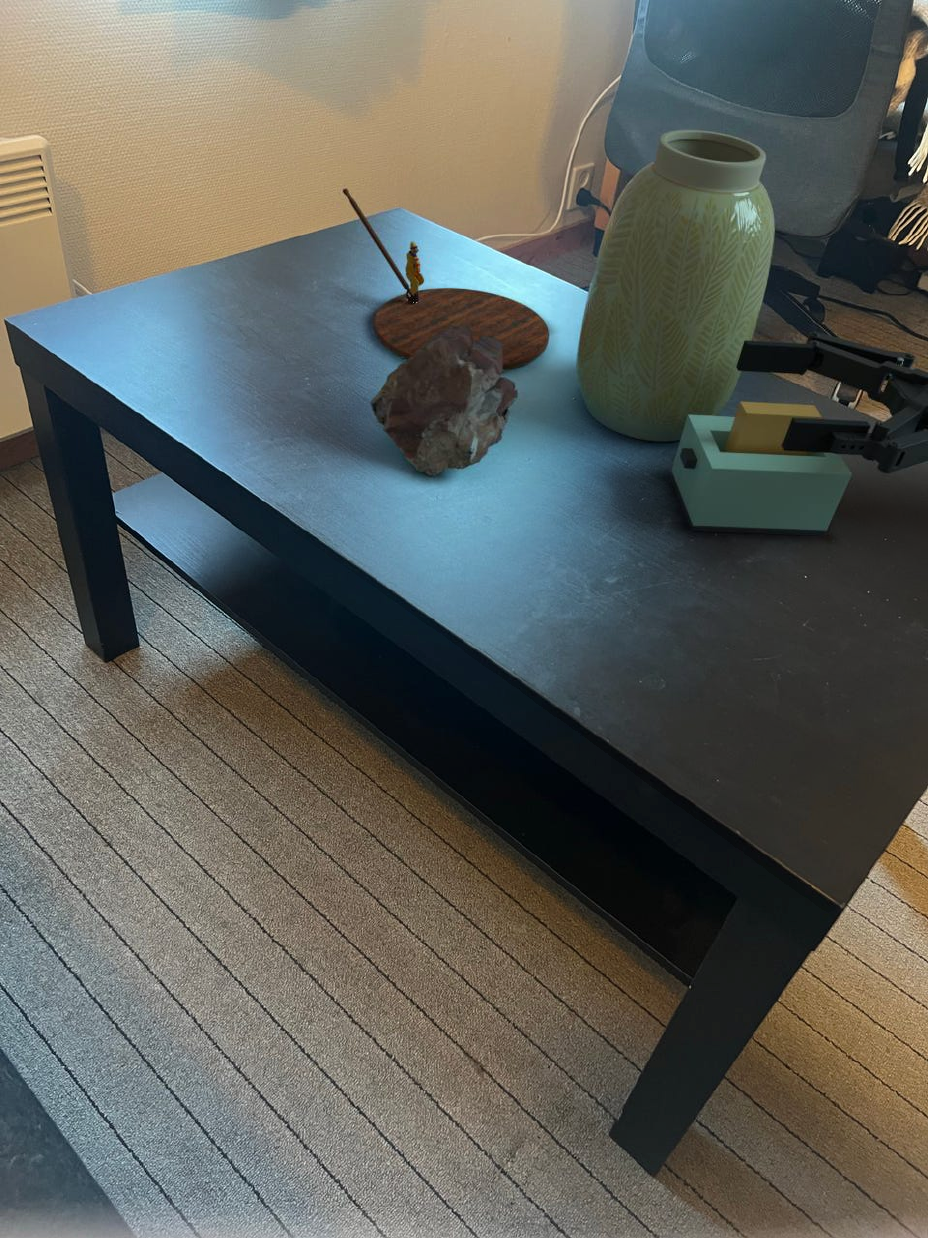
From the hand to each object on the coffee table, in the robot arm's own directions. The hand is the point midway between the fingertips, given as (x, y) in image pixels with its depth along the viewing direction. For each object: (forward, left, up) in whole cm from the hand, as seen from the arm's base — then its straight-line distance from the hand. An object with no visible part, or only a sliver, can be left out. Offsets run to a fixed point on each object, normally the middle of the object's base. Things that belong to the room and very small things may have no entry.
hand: (762, 392), depth 81 cm
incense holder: (+45, +5, -12) cm, 47 cm away
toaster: (-1, -2, -12) cm, 12 cm away
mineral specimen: (+21, +18, -12) cm, 30 cm away
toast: (-1, -2, -12) cm, 12 cm away
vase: (+17, -5, -12) cm, 22 cm away
